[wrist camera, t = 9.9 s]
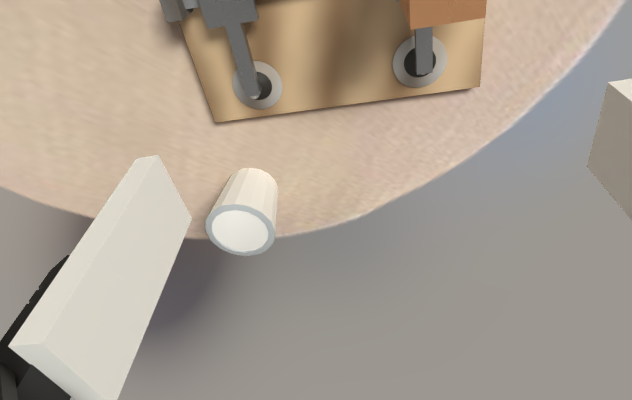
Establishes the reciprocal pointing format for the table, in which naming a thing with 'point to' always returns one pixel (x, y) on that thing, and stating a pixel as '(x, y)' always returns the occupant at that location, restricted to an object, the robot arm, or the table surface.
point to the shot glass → (245, 213)
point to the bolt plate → (325, 55)
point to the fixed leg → (236, 35)
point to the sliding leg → (436, 23)
